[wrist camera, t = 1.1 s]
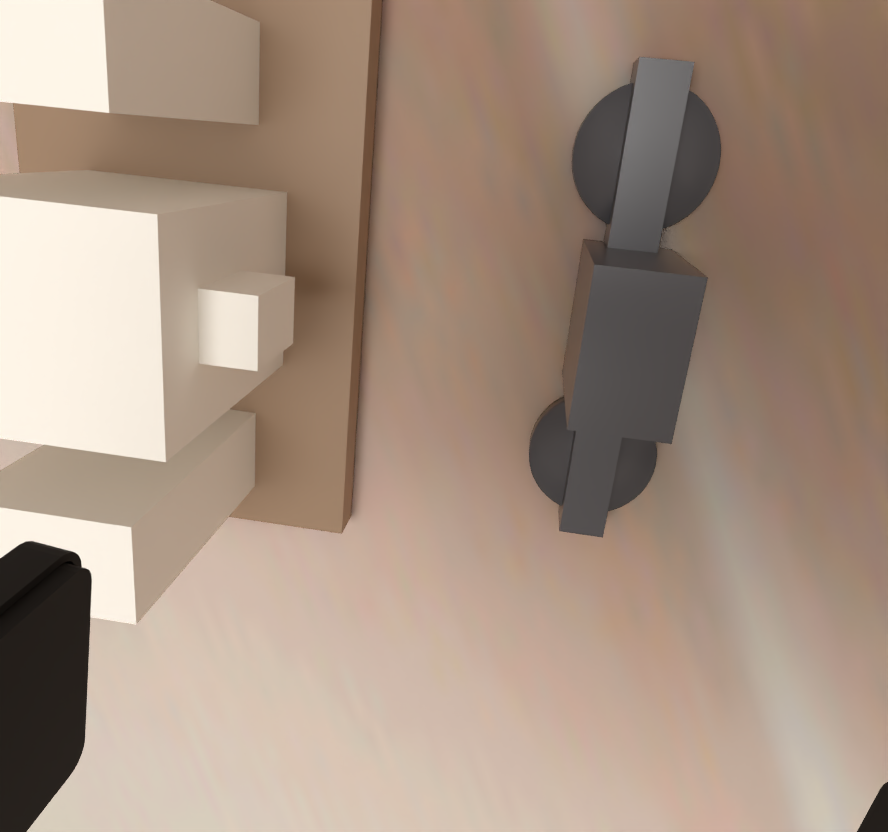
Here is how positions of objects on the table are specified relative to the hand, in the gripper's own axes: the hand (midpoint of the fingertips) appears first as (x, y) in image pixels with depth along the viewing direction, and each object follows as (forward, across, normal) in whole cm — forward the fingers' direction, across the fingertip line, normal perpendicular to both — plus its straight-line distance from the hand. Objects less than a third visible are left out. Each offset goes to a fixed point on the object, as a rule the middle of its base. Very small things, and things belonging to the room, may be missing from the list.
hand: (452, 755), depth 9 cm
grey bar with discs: (+20, -3, -2) cm, 20 cm away
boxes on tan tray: (+20, +12, 0) cm, 23 cm away
